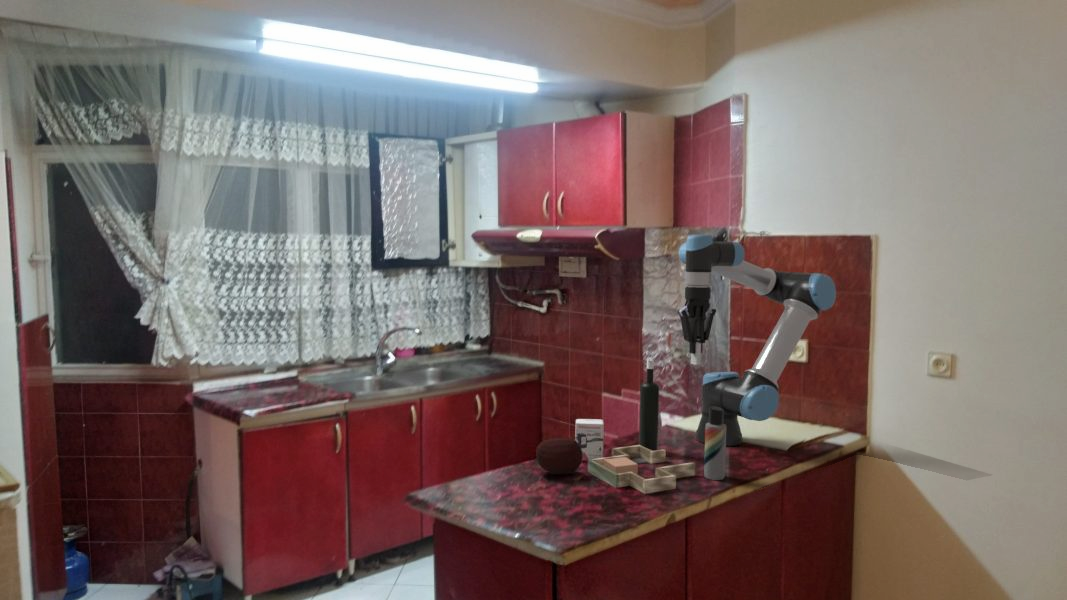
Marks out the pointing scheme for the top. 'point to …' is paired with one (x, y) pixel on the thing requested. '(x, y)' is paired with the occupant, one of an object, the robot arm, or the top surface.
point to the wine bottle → (649, 410)
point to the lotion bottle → (715, 445)
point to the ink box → (590, 438)
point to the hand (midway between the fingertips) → (695, 364)
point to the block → (621, 465)
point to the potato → (559, 455)
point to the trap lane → (639, 455)
